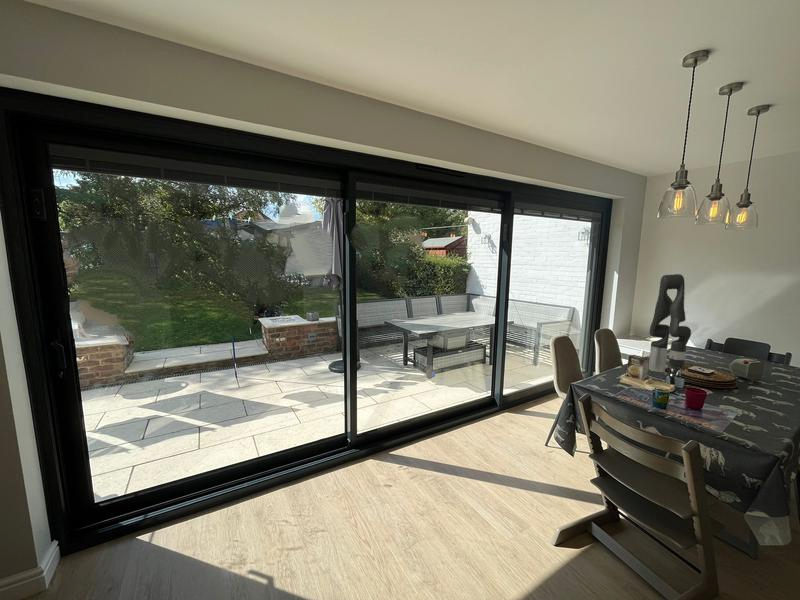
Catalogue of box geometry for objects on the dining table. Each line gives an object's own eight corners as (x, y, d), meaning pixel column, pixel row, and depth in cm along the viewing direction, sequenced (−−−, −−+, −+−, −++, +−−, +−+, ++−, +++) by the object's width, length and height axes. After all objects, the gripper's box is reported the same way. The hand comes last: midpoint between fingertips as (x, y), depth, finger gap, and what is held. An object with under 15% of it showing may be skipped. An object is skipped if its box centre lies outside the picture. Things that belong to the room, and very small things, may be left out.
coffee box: (625, 379, 212) (627, 355, 210) (631, 378, 215) (633, 354, 213) (641, 384, 204) (643, 359, 202) (647, 382, 207) (649, 358, 205)
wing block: (667, 383, 210) (668, 375, 209) (683, 386, 204) (684, 379, 203) (665, 384, 207) (666, 377, 207) (682, 388, 201) (683, 380, 201)
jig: (628, 377, 219) (628, 372, 218) (674, 389, 199) (675, 383, 198) (619, 381, 211) (620, 375, 211) (667, 394, 191) (668, 388, 191)
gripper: (673, 354, 211) (670, 379, 213) (665, 358, 203) (663, 383, 204) (688, 357, 205) (685, 382, 206) (681, 361, 197) (678, 387, 198)
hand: (674, 383), depth 205 cm, fingers open, 8 cm apart
